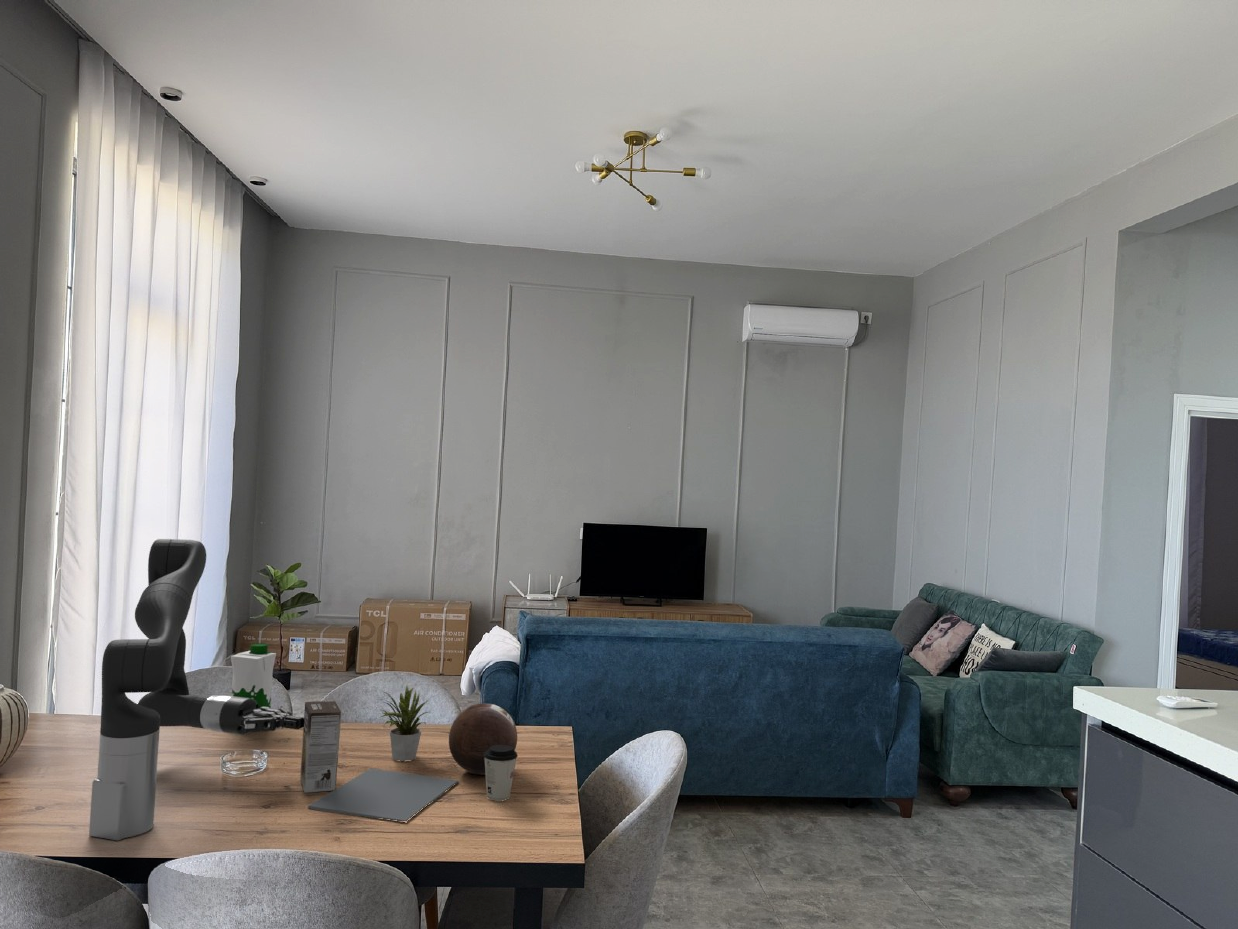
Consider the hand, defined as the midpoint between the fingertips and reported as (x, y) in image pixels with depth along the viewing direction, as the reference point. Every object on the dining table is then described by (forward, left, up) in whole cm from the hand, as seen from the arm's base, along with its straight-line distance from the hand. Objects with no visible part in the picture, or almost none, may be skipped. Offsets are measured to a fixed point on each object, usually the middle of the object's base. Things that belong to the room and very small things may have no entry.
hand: (302, 723), depth 184 cm
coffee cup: (+7, -41, -12) cm, 44 cm away
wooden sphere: (+20, -32, -12) cm, 40 cm away
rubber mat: (0, -20, -12) cm, 23 cm away
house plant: (+23, -11, -12) cm, 28 cm away
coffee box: (0, -4, -12) cm, 13 cm away
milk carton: (+30, +34, -12) cm, 47 cm away
